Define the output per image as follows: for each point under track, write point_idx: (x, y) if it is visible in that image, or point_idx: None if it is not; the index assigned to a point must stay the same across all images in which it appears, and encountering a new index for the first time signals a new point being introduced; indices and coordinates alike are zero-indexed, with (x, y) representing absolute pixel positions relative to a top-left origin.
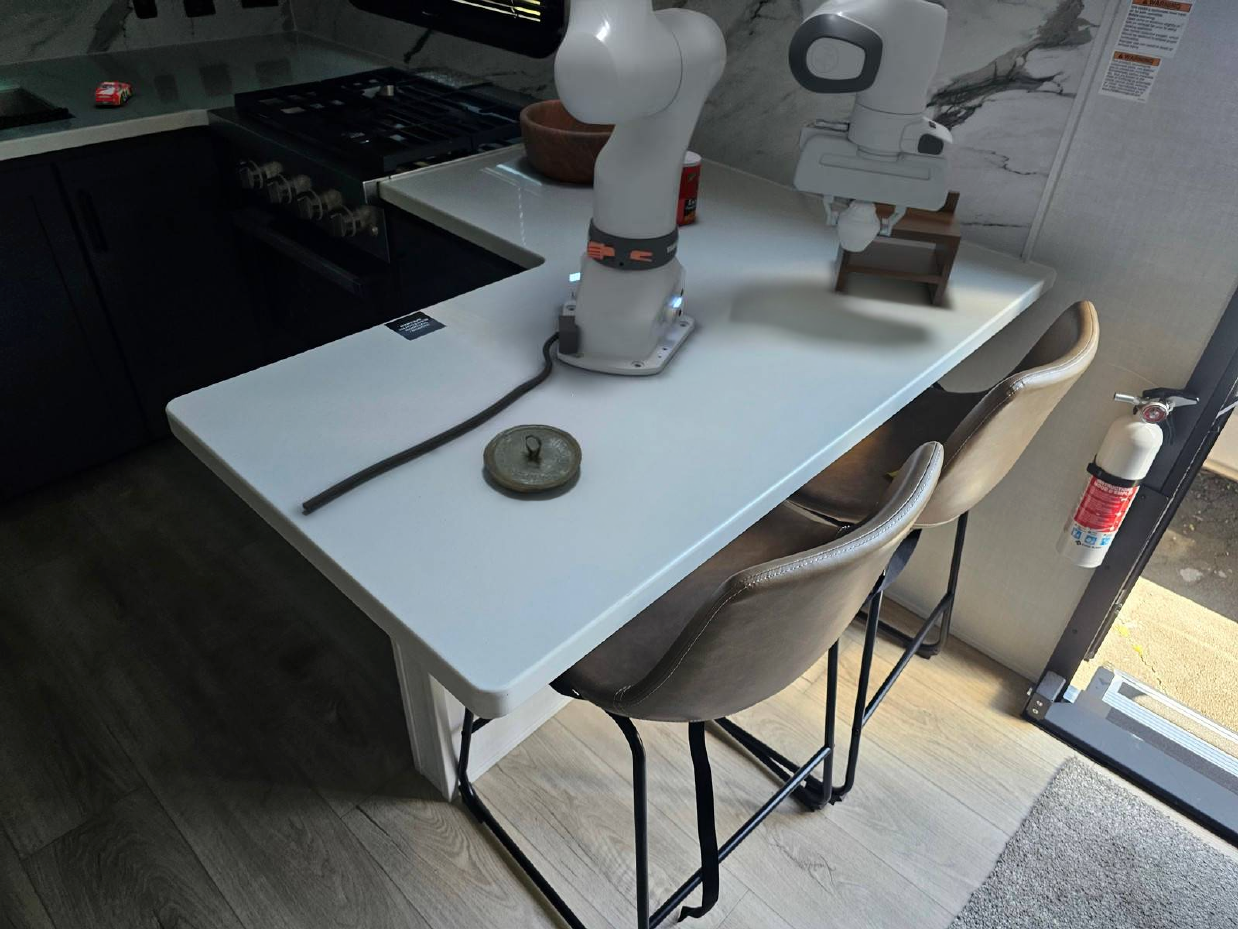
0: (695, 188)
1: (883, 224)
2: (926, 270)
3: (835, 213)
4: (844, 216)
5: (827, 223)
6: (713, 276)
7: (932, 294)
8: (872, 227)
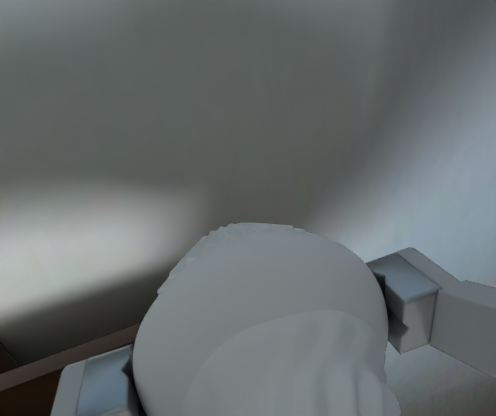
0: None
1: (115, 403)
2: (21, 407)
3: (417, 325)
4: (374, 319)
5: (412, 253)
6: (440, 176)
7: (10, 366)
8: (172, 322)
